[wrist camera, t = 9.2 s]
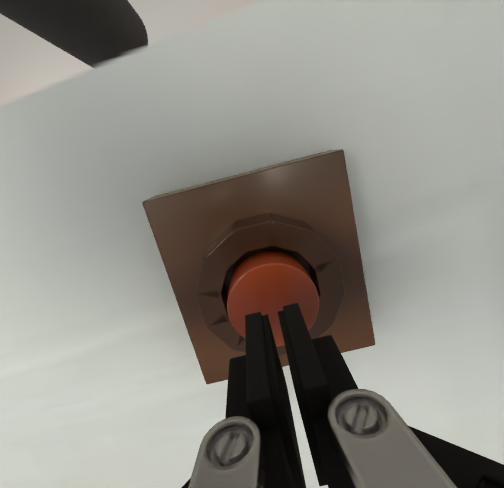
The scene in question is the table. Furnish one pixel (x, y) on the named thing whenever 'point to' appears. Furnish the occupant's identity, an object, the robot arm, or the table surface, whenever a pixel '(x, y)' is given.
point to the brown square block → (263, 250)
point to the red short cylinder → (271, 291)
